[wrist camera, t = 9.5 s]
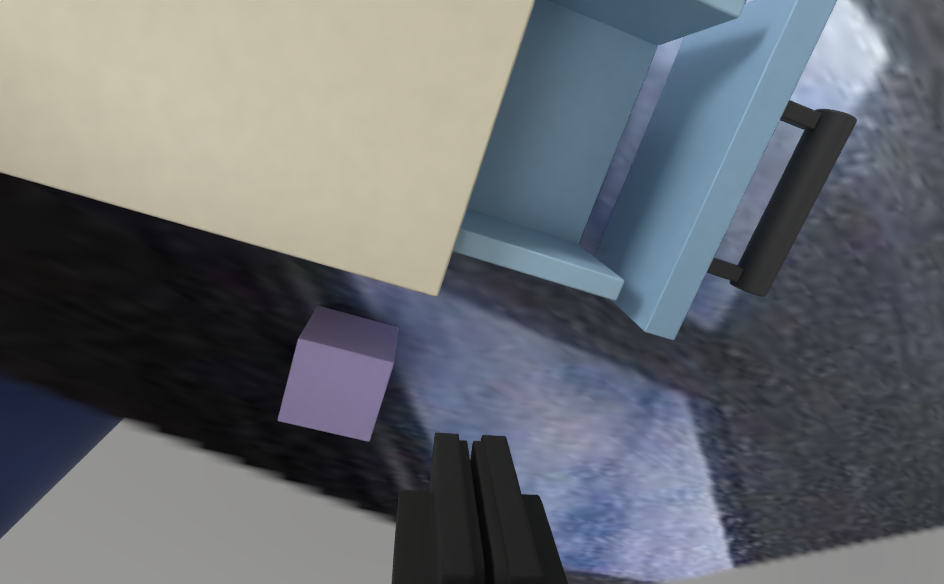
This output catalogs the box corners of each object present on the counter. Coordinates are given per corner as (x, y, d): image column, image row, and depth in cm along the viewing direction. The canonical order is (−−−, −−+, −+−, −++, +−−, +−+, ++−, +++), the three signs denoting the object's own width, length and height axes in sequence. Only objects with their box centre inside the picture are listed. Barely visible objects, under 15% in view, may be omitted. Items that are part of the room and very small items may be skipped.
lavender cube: (377, 396, 26) (369, 442, 22) (298, 377, 25) (277, 421, 22) (398, 326, 25) (394, 362, 21) (317, 304, 24) (297, 338, 20)
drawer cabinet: (525, -55, 20) (593, -176, 12) (432, 239, 24) (437, 298, 16) (139, -222, 18) (-102, -516, 10) (97, 135, 21) (-108, 142, 13)
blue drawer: (799, 71, 22) (954, 48, 16) (686, 308, 25) (776, 371, 19) (401, -99, 19) (389, -216, 12) (327, 196, 22) (286, 226, 15)
